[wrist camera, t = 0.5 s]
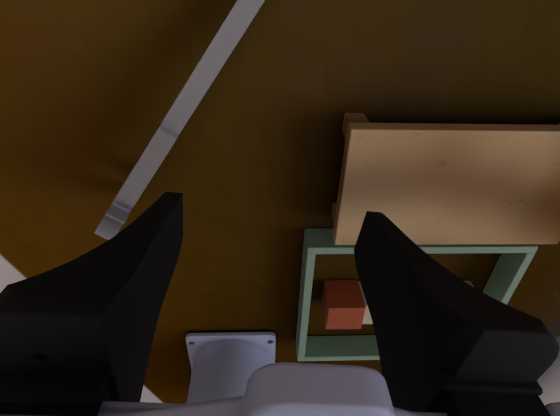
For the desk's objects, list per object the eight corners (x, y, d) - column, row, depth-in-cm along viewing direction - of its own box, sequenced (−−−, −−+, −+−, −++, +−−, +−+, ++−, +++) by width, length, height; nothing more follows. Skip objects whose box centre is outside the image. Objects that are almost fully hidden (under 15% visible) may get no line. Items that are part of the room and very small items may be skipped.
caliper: (136, 194, 25) (103, 259, 20) (121, 186, 24) (82, 250, 19) (345, -129, 16) (384, -164, 11) (326, -150, 16) (357, -197, 10)
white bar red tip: (461, 299, 32) (477, 327, 30) (321, 300, 32) (325, 329, 29) (470, 278, 31) (488, 306, 28) (323, 279, 30) (329, 308, 28)
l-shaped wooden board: (542, 217, 27) (609, 283, 22) (327, 217, 27) (343, 285, 21) (598, 112, 23) (701, 162, 17) (341, 108, 22) (366, 160, 17)
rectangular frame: (466, 337, 35) (477, 358, 33) (295, 340, 35) (297, 361, 33) (521, 227, 28) (539, 246, 26) (304, 227, 27) (307, 247, 25)
